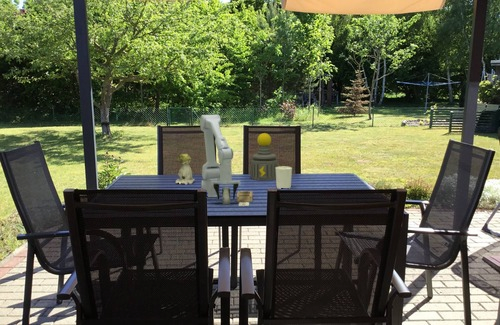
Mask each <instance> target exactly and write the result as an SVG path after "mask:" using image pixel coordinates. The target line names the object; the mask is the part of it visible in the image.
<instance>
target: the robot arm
mask: <svg viewBox="0 0 500 325" xmlns="http://www.w3.org/2000/svg"><path fill="white" fill-rule="evenodd" d="M221 122H222V120H221V116H220V115H219V114H201V116H200V118H199V124H200V130H201V132H203V137H204V147H205V148H204V149H205V156H206V158H205V159H206V162H205V163H204V164H203V165H202V167H201V176H202V180H201V185H200V186H201V189H202V188H203V189H206V190H207V192H208V197H207V198H217V200H220V195H221V193H220V186H225V185H226V186H231V185H233V186H232V191H233V194H232V200H235V199H236V192H237V191H238V188H239V186H241V180H237V179H236V180H235V179H232V177H233V176H232V160H233V159H234V150H233V148H232V147H230V146H229V144H228V142H227V139H226V137H225V136H223V135H222V130H221ZM215 146H216V147H215ZM215 148H216V149H217V157H218V162H217V160H216V159H217V158H216V151H215Z"/></svg>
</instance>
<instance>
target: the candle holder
mask: <svg viewBox="0 0 500 325" xmlns="http://www.w3.org/2000/svg"><path fill="white" fill-rule="evenodd" d="M275 169H276V179H275V183H276V188H277V189H278V190H282V189H281V188H289V189H291V186H292V176H293V175H292V172H293V167H291V166H279V167H276V168H275Z"/></svg>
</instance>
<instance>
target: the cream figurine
mask: <svg viewBox="0 0 500 325" xmlns="http://www.w3.org/2000/svg"><path fill="white" fill-rule="evenodd" d="M192 160H193V159H192V158H191V156H190V154H188V153H181V154H179V155H178V157H177V161H178V162H179V163H180V164H182V165H181V166H180V168H179V171H178V177H179V178H177V179H175V184H178V183H179V185H181V184H185V185H188V184H189V185H191V184H192V183H194V181H195V178H193V170H192V168H191V165H190V163H191V161H192Z"/></svg>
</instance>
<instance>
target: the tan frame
mask: <svg viewBox="0 0 500 325" xmlns="http://www.w3.org/2000/svg"><path fill="white" fill-rule="evenodd" d="M253 193H254V192H253V190H250V191H249V190H240V191H239V190H237V194H236V203H239V202H249V203H253Z"/></svg>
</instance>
